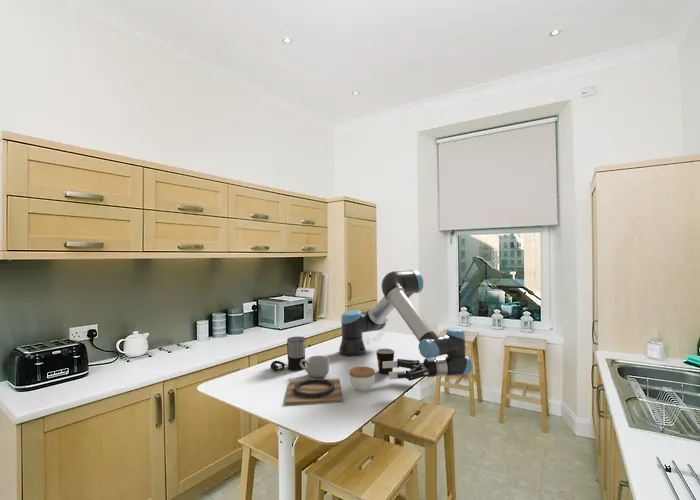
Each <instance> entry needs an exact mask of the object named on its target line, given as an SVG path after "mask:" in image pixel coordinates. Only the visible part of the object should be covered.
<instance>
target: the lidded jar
mask: <svg viewBox="0 0 700 500" xmlns="http://www.w3.org/2000/svg"><path fill="white" fill-rule="evenodd" d="M375 375H376V371H375V369H374V368H372V367H370V366H356V367H353V368H350V369H349V383H350V384H351V387H352V388H353V389H355V391H356V392H358V393H366V392H369V391H370V389H371V388H372V387H373V385H374V383H375Z"/></svg>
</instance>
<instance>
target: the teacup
mask: <svg viewBox="0 0 700 500" xmlns="http://www.w3.org/2000/svg"><path fill="white" fill-rule="evenodd" d="M302 362H305V366H306V367H304V366H303V365H302ZM300 366H301V367H302V368H303V370H305V372H306V373H307V374H308V376H310V377H311V378H312V379H318V378H319V379H323V378H324V377H325V376H326V375H328V373H329V372H330V358H329V357H328V356H326V355H313V356H310V357H308V358H305V359H302V360H301V361H300Z"/></svg>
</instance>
